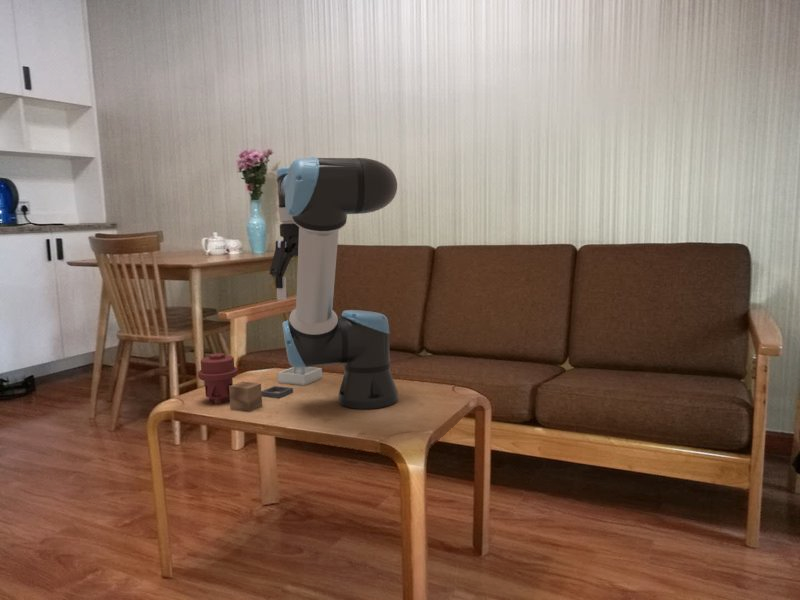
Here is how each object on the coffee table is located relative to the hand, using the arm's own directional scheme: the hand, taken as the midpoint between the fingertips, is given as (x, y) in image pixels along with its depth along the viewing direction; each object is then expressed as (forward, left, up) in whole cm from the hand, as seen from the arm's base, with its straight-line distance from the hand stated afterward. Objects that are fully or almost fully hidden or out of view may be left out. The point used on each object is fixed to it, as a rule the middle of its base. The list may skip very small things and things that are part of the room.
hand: (296, 297), depth 180 cm
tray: (0, 0, -25) cm, 25 cm away
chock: (-3, +28, -25) cm, 37 cm away
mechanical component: (+8, +25, -25) cm, 36 cm away
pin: (0, 0, -24) cm, 24 cm away
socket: (-3, +15, -25) cm, 29 cm away
